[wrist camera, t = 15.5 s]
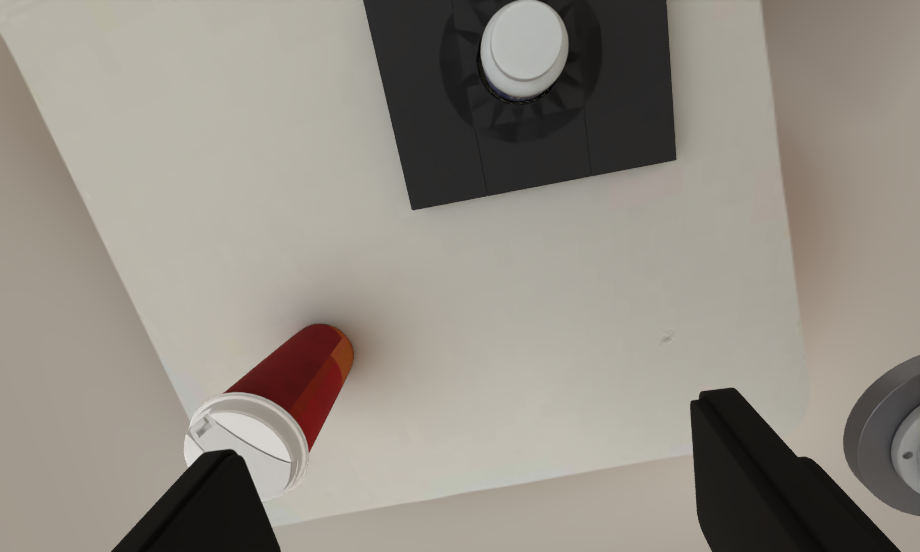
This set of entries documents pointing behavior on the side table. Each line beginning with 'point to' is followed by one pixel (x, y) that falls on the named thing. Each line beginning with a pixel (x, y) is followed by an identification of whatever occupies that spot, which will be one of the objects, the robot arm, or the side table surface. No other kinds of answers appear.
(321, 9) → the side table surface
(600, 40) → the socket pad
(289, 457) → the coffee cup
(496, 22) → the pill bottle
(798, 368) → the side table surface
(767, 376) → the side table surface
